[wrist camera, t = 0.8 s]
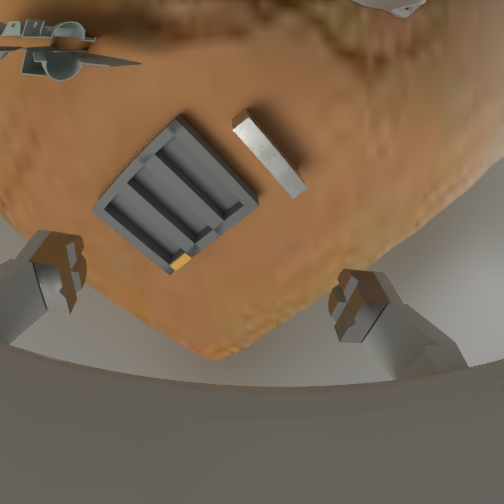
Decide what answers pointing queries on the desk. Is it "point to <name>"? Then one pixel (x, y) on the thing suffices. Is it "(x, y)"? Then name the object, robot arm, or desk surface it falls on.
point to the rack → (175, 197)
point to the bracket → (54, 50)
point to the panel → (268, 153)
